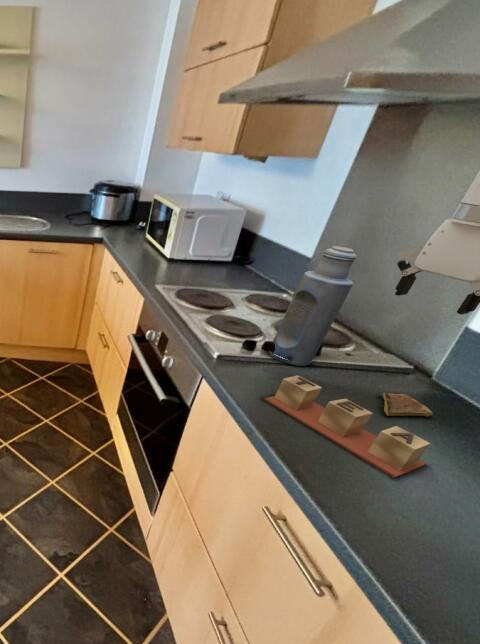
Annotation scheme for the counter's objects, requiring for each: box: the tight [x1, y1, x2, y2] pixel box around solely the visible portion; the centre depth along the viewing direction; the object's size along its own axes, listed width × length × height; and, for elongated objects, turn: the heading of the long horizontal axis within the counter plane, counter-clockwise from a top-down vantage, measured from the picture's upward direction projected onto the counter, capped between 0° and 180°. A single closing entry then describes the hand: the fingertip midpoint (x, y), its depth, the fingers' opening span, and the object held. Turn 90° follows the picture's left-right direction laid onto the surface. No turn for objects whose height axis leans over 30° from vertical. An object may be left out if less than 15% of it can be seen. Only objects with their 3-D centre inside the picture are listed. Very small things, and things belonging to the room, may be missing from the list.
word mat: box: [263, 395, 427, 479], centre depth 84 cm, size 24×10×1 cm, turn 22°
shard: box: [382, 392, 433, 418], centre depth 92 cm, size 11×8×2 cm
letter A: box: [368, 425, 431, 471], centre depth 75 cm, size 5×5×5 cm
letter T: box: [274, 375, 323, 410], centre depth 90 cm, size 5×5×5 cm
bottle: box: [268, 245, 358, 367], centre depth 104 cm, size 10×10×30 cm
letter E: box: [318, 398, 374, 437], centre depth 83 cm, size 5×5×5 cm
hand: (429, 303), depth 83 cm, fingers open, 9 cm apart
